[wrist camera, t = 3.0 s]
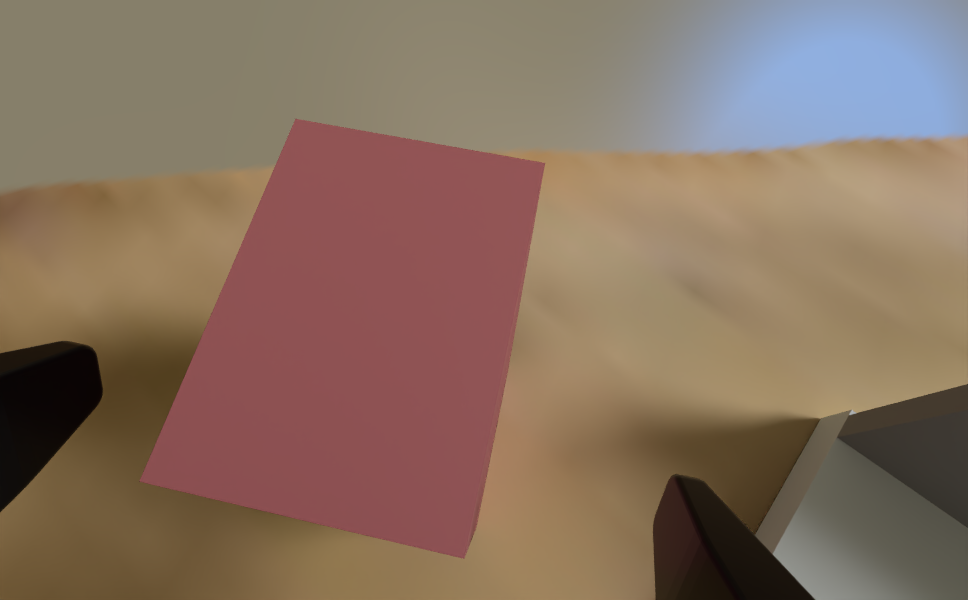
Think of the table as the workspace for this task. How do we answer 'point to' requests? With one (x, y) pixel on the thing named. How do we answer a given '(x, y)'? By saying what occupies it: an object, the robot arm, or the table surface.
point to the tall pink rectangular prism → (361, 340)
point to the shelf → (879, 504)
